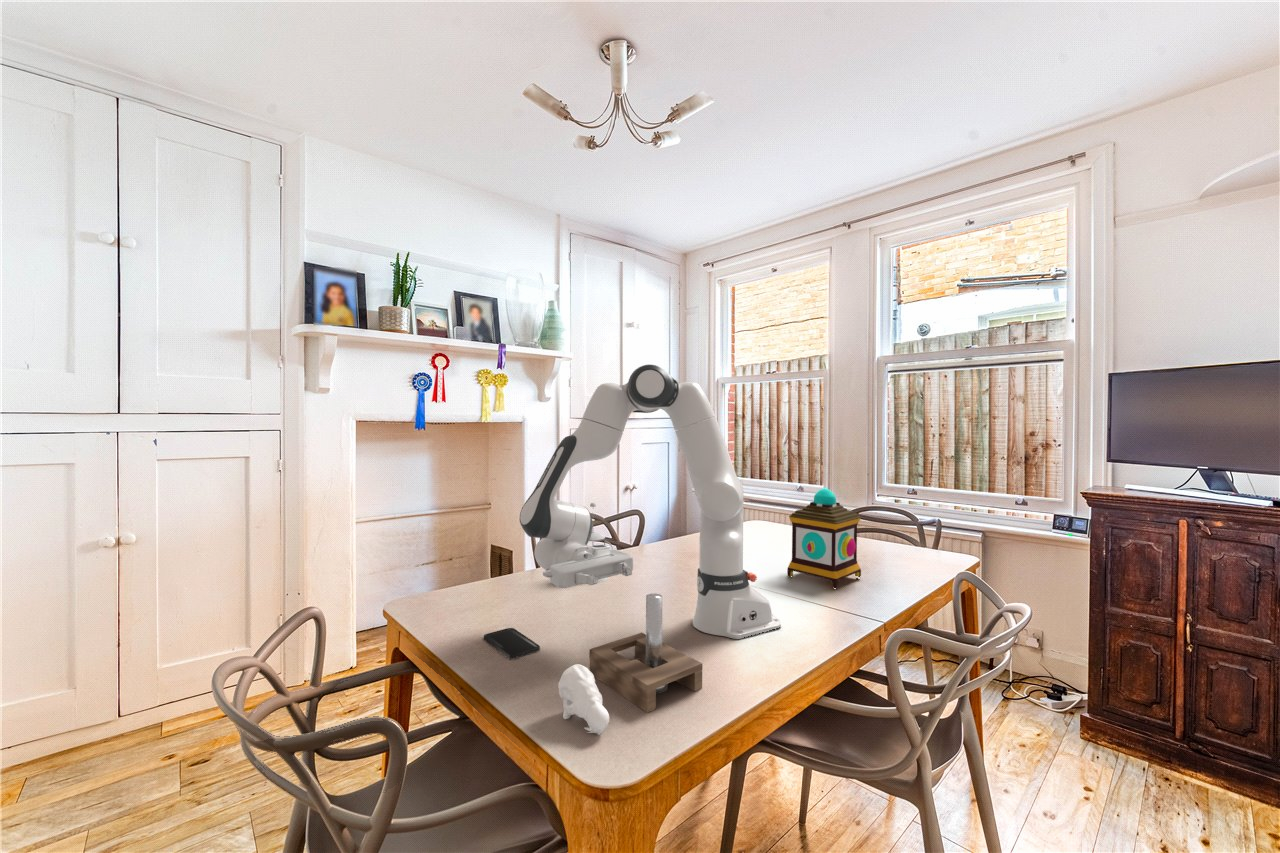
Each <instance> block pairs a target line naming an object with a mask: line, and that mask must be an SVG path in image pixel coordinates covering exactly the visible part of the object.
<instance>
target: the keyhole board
mask: <svg viewBox="0 0 1280 853" xmlns="http://www.w3.org/2000/svg"><path fill="white" fill-rule="evenodd" d="M630 648H634V658H635V659H633V660H630V659H628V658H627V657H625V656H623V655H621V654H620V653H619V652H621V651H624V650H628V649H630ZM588 653H589V654H588V655H589V656H588V657H589V660H588V661H589V667H588V669H589V671H590V672H591V673H593V675H594V678H596V679H597V680H599V681H601V682H602V683H603V684H605V685H606V686H608V687H609V688H611V689H612V690H613V691H615V692H617V693H618V694H619V695H621V696H622V697H624V698H625V699H627V700H628V701H629V702H631V703H632V704H634V705H636V706H637V707H638V708H640V709H641V710H643V711H644V712H645V713H649V712H652V711H654V710H656V708H657V694H656V688H658V687H661V686H663V685H666V684H668V685H669V683H673V682H677V683H680V684H681V685H683V686H684V685H685V687H686V688H688V689H690V690H691V691H693V692H697V691H700V690H702V689H703V662H701V661H699V660H697V659H695V658H693V657H691V656H689V655H687V654H686V653H683V652H681V651H679V650H677V649H676V648H674V647H671V646H669V645H667V644H666V643H663V642H662V665H660V666H658V667H655V668H651V667H649V666H648V665H646V633H644V632H639V633H635V634H632V635H630V636H626V637H624V638H620V639H617V640H614V641H611V642H608V643H605V644H602V645H598V646H595V647H592V648H589V652H588ZM701 688H702V689H701ZM699 689H700V690H699Z"/></svg>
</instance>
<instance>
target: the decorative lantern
mask: <svg viewBox="0 0 1280 853" xmlns="http://www.w3.org/2000/svg"><path fill="white" fill-rule="evenodd" d="M788 518H789V520H790V522H791V526H792V531H791V534H792V535H791V560H790V562H789V563H788V567H787V571H786V572H787V573H786V574H787V577H788V576H789V577H791V576H792V577H793V575H794V572H797V573H801V574H803V575H808V576H813V577H817V578H821V579H824V580H829V581H830V582H831V585H832V588H833V587H834V588H837V589H838V584H839V581H840V580H843V579H844V578H847V577H849V576H851V575H855V576H858V577H860V576H862V570H861V567H860V565H859V563H858V560H857V557H858V556H857V554H858V553H857V550H858V546H857V545H858V524H859V523H860V521H861V516H860V515H859V514H858V513H855V511H853V510H849V509H847V508H846V507H844V506H843V505H841V503H840V502H837V497H836V494H834V492H832V491H831V490H830V489H829V488H826V487H824V488H821V489H819V490H818V491H816V493H815V494H814V497H813V501H810V503H809V504H807V505H806V506H805V507H803V508H801V509H797V510H795V511H794V512H792V513H791V514H790V515H789V516H788ZM855 576H854V577H855ZM789 577H788V578H789ZM860 578H861V577H860Z"/></svg>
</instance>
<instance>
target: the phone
mask: <svg viewBox="0 0 1280 853" xmlns="http://www.w3.org/2000/svg"><path fill="white" fill-rule="evenodd" d="M483 640H484V641H485V640H486V641H485V642H487V644H489V645H490V646H491V647H493V648H494V649H495V648H496V649H495V650H496V651H498V652H499V653H500V652H501V653H500V654H501V655H503V656H504V657H505V656H506V657H505V658H507V659H508V658H509V659H508V660H515V659H519V658H522V657H525V656H529V655H532V654H536V653H538V652H539V651H540V650H541V646H540V645H539V644H538V643H536V642H535V641H533V640H532V639H530V638H529V637H528V636H526V635H525V634H523V633H522V632H520V631H519V630H517V629H516V628H514V627H507V628H504V629H500V630H496V631H493V632H489V633H485V634H484V635H483Z"/></svg>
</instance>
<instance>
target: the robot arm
mask: <svg viewBox="0 0 1280 853" xmlns="http://www.w3.org/2000/svg"><path fill="white" fill-rule="evenodd" d="M659 410H663V411H664V412H665V413H666V414H667V415H668V417H669V419H670V420H671V423H672V426H673V429H674V431H675V432H674V433H675V434H676V438H677V440H678V442H679V446H680V449H681V451H682V454H683V456H684V458H685V459H684V460H685V462H686V466H687V469H688V474H689V478H690V480H691V483H692V487H693V490H694V494H695V496H696V499H697V501H698V502H697V503H698V506H699V508H700V525H699V549H698V550H699V558H698V559H699V560H698V561H699V562H698V564H699V565H698V566H699V567H698V569H697V577H696V578H697V579H696V581H697V582H696V584H697V585H696V586H697V601H696V608H695V612H694V616H693V619H692V623H691V624H692V626H693V627H694V628H695V629H696V630H698V631H699V632H702V633H706V634H708V635H709V634H710V635H714V636H722V637H727V638H729V639H732V640H733V639H734V640H741V639H745V638H748V636H749V637H752V636H756V635H759V633H760V634H763V633H762V632H764V633H766V632H765V631H768V630H772V629H775V628H779V627H781V628H782V623H781V621H780V619H779V618H778V617H777V616H775V615H774V614H773V613H772V608H771V604H770V602H769V600H768V598H767V597H766V596H765V595H763V594H762V593H761V592H759V591H758V590H757V589H756V588H755V587H753V586H752V585H751V584H750V582H751V583H755V582H756V581H757V579H758V577H757V575H756V573H753V572H749V571H747V570H745V569H744V568H743V567H744V486H743V483H742V481H741V480H740V479H739V477H738V476H737V473H736V470H735V467H734V465H733V461H732V458H731V456H730V453H729V450H728V447H727V443H726V441H725V438H724V436H723V432H722V430H721V428H720V424H719V422H718V420H717V417H716V414H715V412H714V409H713V407H712V404H711V403H710V401H709V399H708V396H707V395H706V394H705V391H704V390H703V389H702V387H701V385H700V384H698V383H697V382H695V381H683V382H680V383H679V381H678V380H677V379H676V378H674V377H673V376H672V375H670V374H669V372H667V371H666V370H665V369H664V368H662V367H661V366H659V365H655V364H643V365H641V366H638V367H637V368H636V369H634V371H633V372H631V375H630V376H629V378H628V381H627V383H624V384H617V383H614V382H605V383H601V384H600V385H598V386H597V387H596V389H595V391H594V392H593V394H592V396H591V398H590V399H589V402H588V404H587V406H586V408H585V410H584V413H583V416H582V419H581V420H580V423H579V425H578V427H577V428H576V430H574V432H573V433H572V434H571V435H567V436H565V437H564V438H563V439H562V440H561V441H560V442H559V445H558V446H557V447H556V449H555V451H554V453H553V455H552V456H551V458H550V460H549V462H548V463H547V465H546V468H544V471H543V472H542V475H541V476H540V479H539V480H538V483H537V484H536V486H535V488H534V489H533V491H532V493H531V494H530V495H529V497H528V499H527V500H526V501H525V502H524V504H523V505H522V508H521V510H520V514H519V523H520V526H521V527H522V530H523V532H524V533H525V534H526V535H527V536H528V537H530V538H534V539H535V538H537V539H540V540H538V542H537V543H536V545H535V548H534V550H533V551H534V552H533V554H534V558H535V561H536V563H537V564H538V566H539V567H541V568H542V570H543V572H542V576H544V577H546V578H548V579H549V582H550V583H551V584H553V585H554V586H555V587H557V588H559V589H567V588H571V587H576V586H578V585H588V586H594V585H596V584H598V583H597V580H599V579H603V578H610V577H611V578H612V577H613V576H618V575H621V576H625V577H629V576H632V575H633V570H634V558H633V555H631V554H630V553H628V552H625V551H622V550H619V549H616V548H615V549H614V548H613V549H612V548H611V546H610V545H609V544H605V545H604V544H600V545H599V544H596V545H594V544H592V545H589V544H588V543H590V541H589V539H590V537H591V534H592V532H593V530H594V521H593V516H592V515H591V512H590V511H589V509H588V508H587V507H586V506H583V505H579V504H576V503H572V502H566V501H562V500H558V499H555V497H556V495H557V494H558V492H559V489H560V488H561V486H562V484H563V482H564V480H565V479H566V476H567V474H568V473H569V471H570V470H571V469H572V468H573V467H574V466H576V465H577V464H579V463H580V464H581V463H585V462H592V461H598V460H599V461H600V460H603V459H605V458H608V457H609V456H611V455H613V454H614V453H615V451H616V450H617V448H618V447H619V446H620V445H619V444H620V443H621V441H622V437H623V434H624V431H625V427H626V426H627V422H628V419H629V417H630V416H631V414H633V413H643V414H649V413H650V414H651V413H654V412H656V411H659ZM779 629H780V628H779ZM775 630H776V629H775ZM772 631H773V630H772ZM768 632H769V631H768ZM755 634H756V635H755ZM751 635H752V636H751ZM744 637H745V638H744Z"/></svg>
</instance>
